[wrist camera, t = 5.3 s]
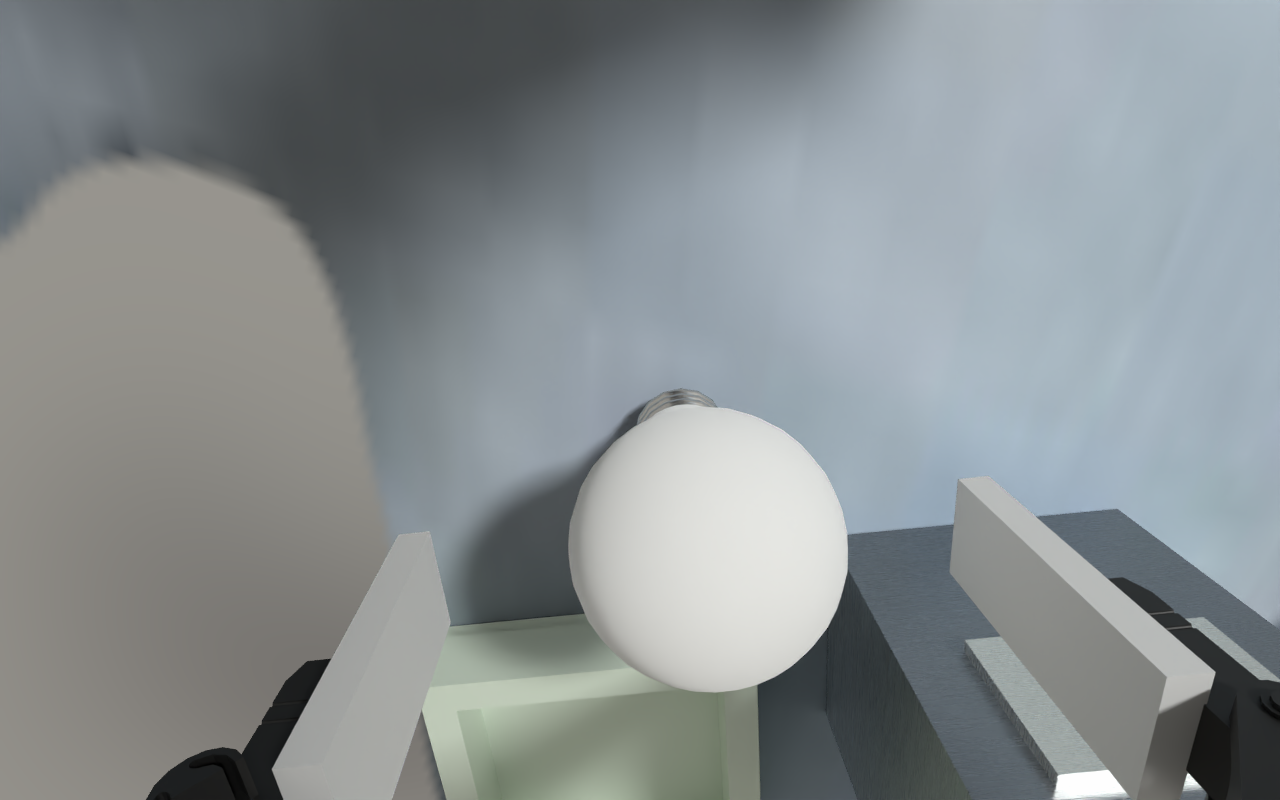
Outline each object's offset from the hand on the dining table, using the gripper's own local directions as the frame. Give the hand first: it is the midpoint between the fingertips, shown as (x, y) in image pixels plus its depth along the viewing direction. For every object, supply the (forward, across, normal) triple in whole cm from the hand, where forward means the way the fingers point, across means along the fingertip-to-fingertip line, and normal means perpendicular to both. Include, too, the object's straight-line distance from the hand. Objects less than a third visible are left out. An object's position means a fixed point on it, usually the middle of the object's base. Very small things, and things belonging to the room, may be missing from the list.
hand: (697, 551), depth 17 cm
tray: (+8, -4, -13) cm, 16 cm away
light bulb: (+8, 0, +1) cm, 8 cm away
